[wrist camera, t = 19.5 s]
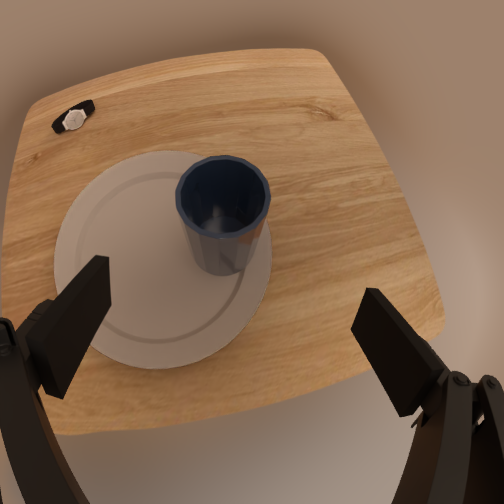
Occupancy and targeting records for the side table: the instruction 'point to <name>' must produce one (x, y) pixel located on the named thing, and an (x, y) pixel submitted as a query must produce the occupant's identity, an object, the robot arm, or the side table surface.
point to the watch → (73, 117)
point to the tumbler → (222, 212)
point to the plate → (155, 267)
